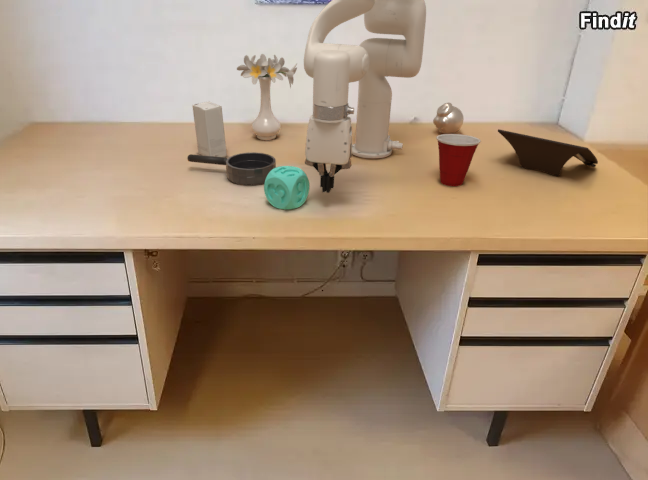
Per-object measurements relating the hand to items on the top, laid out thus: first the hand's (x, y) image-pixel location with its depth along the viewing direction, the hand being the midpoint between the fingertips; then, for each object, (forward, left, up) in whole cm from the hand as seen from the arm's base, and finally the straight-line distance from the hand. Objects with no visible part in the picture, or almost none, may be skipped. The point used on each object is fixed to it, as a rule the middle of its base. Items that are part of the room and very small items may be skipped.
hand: (326, 190), depth 129 cm
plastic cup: (-28, -24, -5) cm, 37 cm away
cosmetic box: (+41, -27, -5) cm, 49 cm away
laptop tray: (-53, -42, -5) cm, 68 cm away
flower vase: (+30, -48, -5) cm, 57 cm away
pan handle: (+36, -14, -2) cm, 39 cm away
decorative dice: (+10, 0, -5) cm, 11 cm away
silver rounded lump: (-25, -66, -5) cm, 71 cm away
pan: (+24, -14, -5) cm, 28 cm away
